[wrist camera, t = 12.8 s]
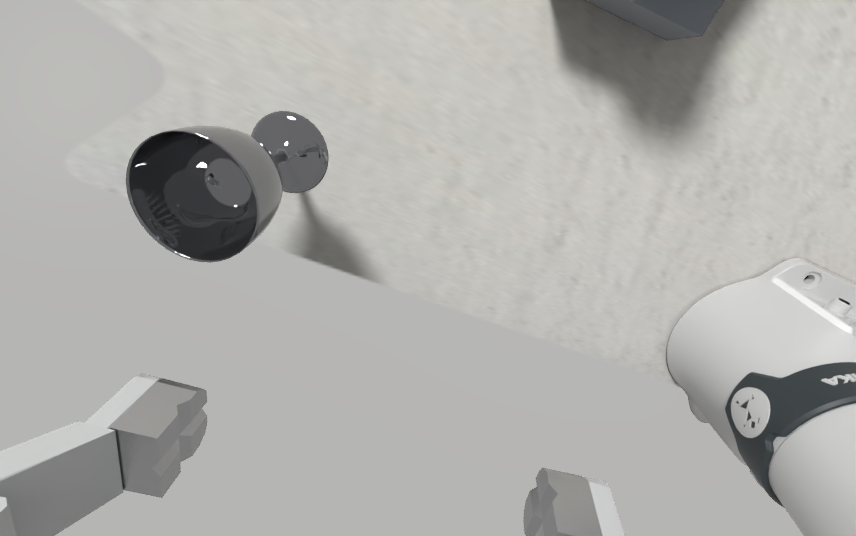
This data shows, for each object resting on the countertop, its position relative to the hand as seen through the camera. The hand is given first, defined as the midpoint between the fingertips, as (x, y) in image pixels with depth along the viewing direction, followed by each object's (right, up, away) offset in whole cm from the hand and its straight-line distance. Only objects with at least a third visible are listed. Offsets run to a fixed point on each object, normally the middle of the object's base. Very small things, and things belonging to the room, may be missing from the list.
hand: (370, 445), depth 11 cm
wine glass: (-11, +15, +29) cm, 34 cm away
